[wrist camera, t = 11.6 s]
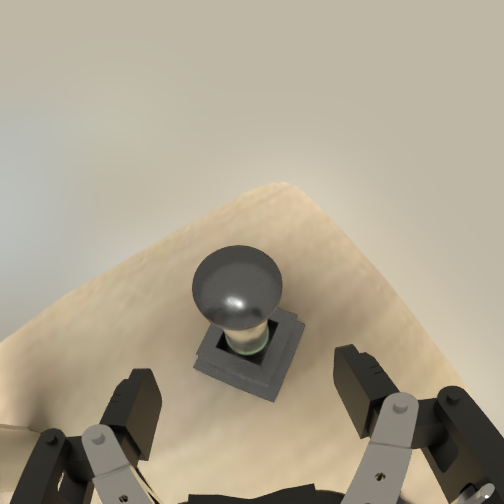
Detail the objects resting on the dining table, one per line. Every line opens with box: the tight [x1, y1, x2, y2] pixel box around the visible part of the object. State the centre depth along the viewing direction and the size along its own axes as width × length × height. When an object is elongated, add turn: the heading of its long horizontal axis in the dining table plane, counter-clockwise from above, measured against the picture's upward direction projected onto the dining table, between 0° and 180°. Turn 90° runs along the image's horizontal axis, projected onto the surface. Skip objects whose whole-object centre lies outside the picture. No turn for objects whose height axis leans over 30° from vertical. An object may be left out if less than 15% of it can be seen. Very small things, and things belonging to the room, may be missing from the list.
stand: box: [193, 308, 305, 402], centre depth 28 cm, size 10×10×7 cm
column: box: [192, 245, 282, 356], centre depth 21 cm, size 5×5×13 cm
